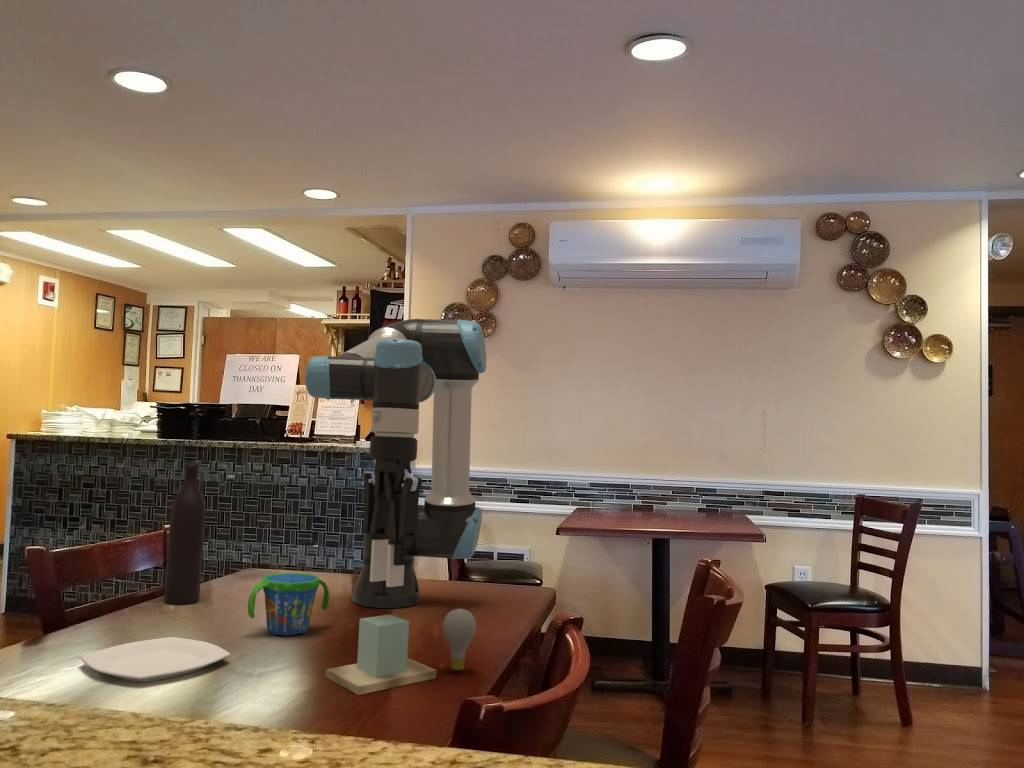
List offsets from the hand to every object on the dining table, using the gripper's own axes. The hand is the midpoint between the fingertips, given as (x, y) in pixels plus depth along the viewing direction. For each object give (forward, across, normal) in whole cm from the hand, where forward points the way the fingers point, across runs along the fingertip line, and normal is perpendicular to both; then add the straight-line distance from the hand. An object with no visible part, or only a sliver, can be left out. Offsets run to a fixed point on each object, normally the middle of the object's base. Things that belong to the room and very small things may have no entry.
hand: (386, 582), depth 120 cm
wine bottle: (+15, -68, -8) cm, 70 cm away
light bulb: (+15, +4, +12) cm, 20 cm away
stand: (+15, 0, 0) cm, 15 cm away
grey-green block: (+13, 0, 0) cm, 13 cm away
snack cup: (+15, -33, 0) cm, 36 cm away
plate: (+15, -25, -26) cm, 39 cm away
